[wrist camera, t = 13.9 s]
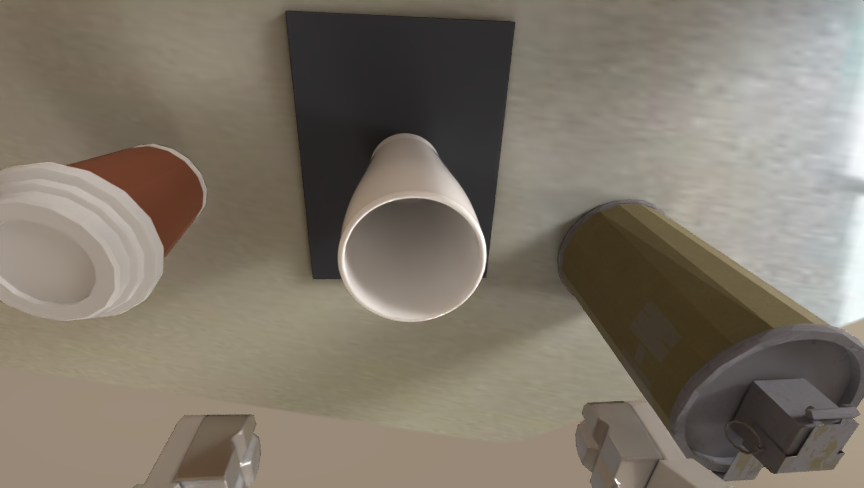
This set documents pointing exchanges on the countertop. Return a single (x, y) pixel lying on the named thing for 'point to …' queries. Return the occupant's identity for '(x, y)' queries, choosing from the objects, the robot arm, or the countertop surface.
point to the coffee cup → (93, 230)
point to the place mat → (394, 106)
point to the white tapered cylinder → (410, 235)
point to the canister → (714, 345)
